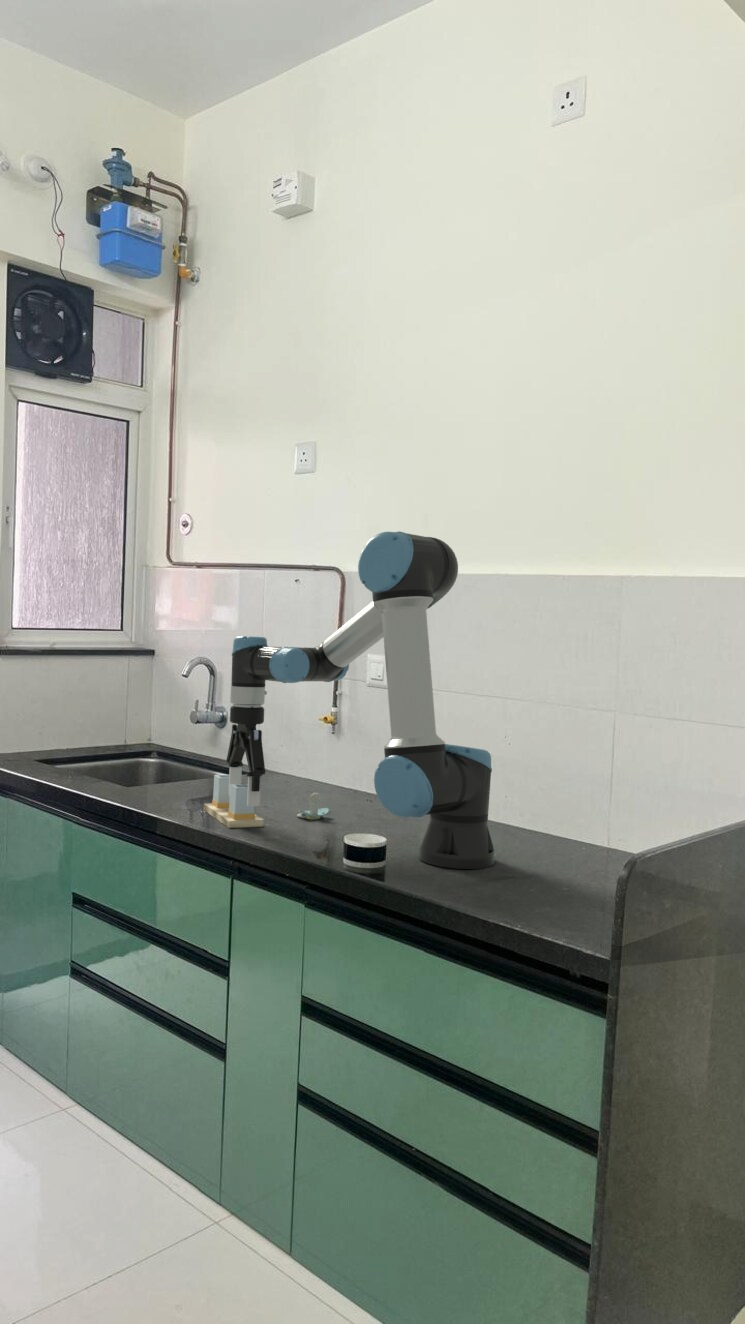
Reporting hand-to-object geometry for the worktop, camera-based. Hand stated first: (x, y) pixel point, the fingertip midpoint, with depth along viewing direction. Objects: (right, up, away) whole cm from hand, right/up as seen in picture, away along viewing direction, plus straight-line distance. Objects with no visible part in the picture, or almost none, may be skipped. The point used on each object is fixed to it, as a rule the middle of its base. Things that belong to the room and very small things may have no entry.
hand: (243, 800), depth 225 cm
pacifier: (+14, -6, +12) cm, 20 cm away
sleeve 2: (-1, -4, +1) cm, 4 cm away
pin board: (-3, -5, +6) cm, 9 cm away
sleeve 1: (-6, -3, +12) cm, 14 cm away
